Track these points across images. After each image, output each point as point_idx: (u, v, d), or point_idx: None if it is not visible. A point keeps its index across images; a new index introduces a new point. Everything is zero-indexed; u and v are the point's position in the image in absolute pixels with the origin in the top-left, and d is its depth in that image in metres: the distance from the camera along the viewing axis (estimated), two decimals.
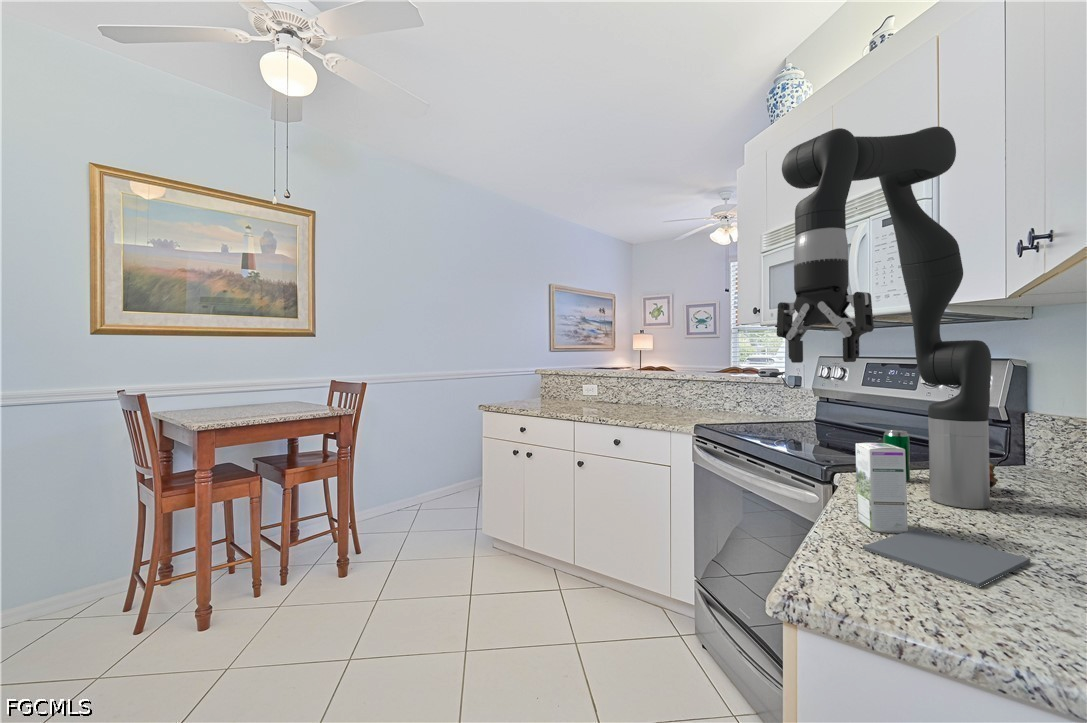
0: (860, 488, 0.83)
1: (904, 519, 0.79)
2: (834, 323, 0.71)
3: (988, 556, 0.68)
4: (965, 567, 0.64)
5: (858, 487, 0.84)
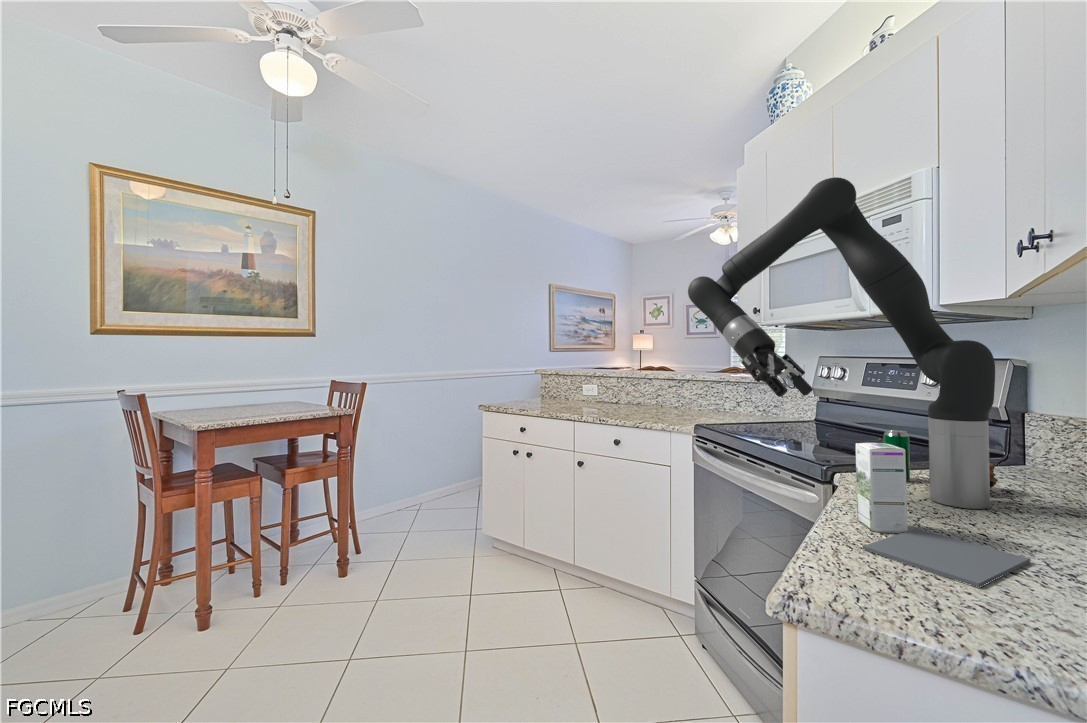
0: (860, 488, 0.83)
1: (904, 519, 0.79)
2: None
3: (988, 556, 0.68)
4: (965, 567, 0.64)
5: (858, 487, 0.84)
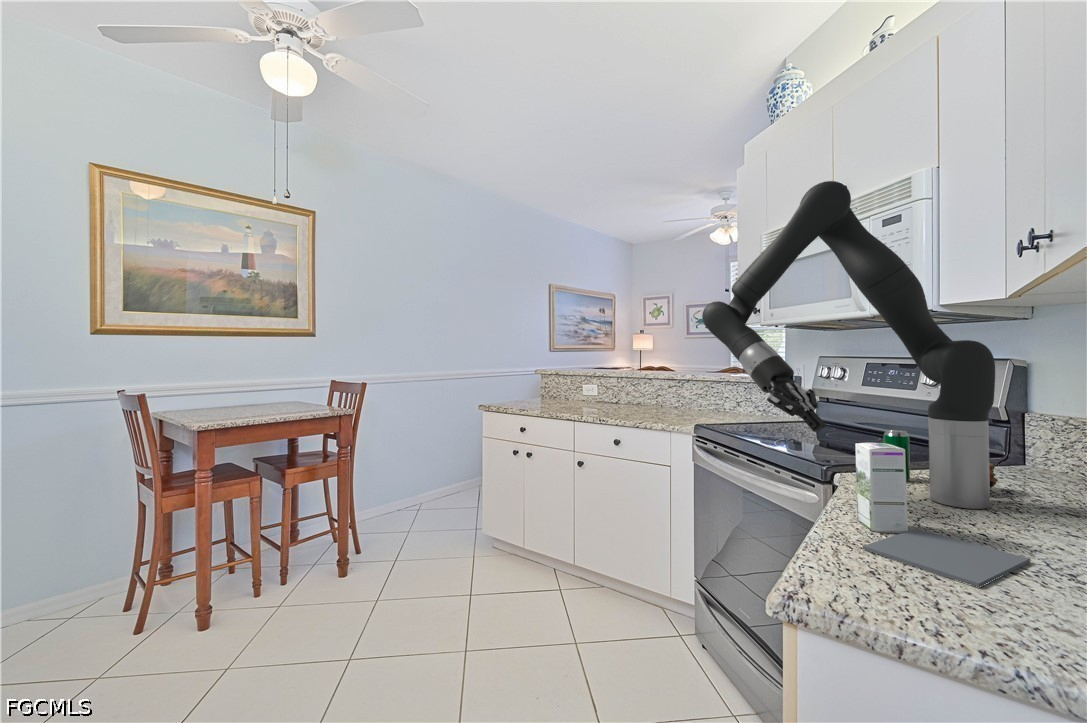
0: (860, 488, 0.83)
1: (904, 519, 0.79)
2: (790, 408, 0.96)
3: (988, 556, 0.68)
4: (965, 567, 0.64)
5: (858, 487, 0.84)
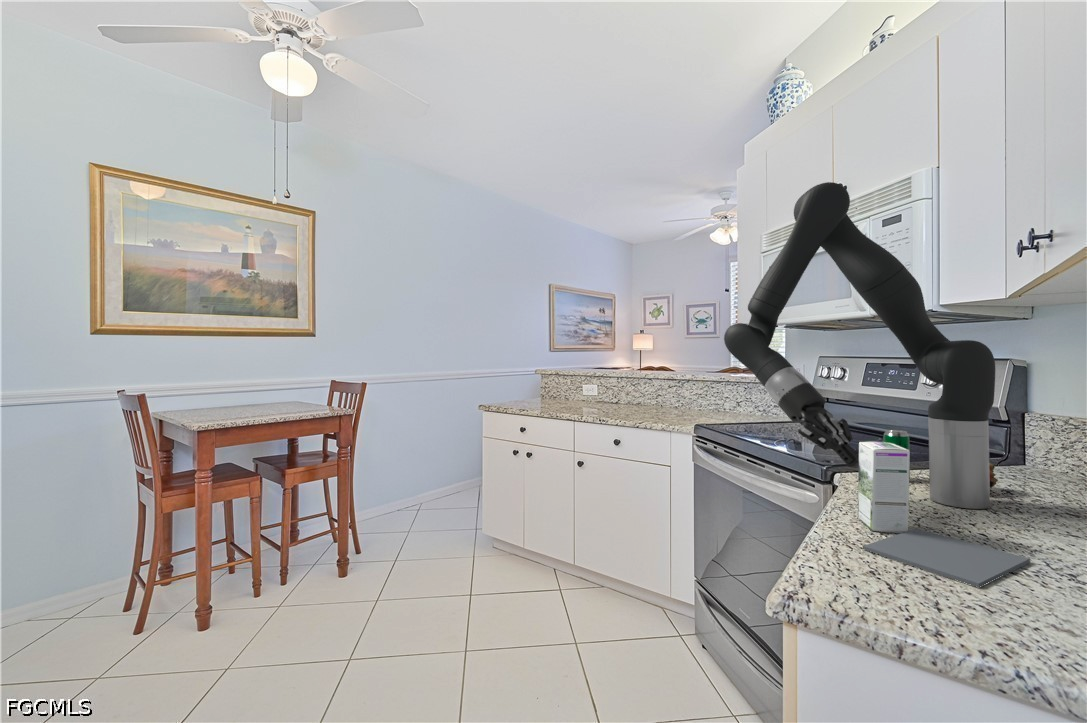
0: (862, 487, 0.83)
1: (905, 519, 0.79)
2: None
3: (988, 556, 0.68)
4: (965, 567, 0.64)
5: (860, 486, 0.84)
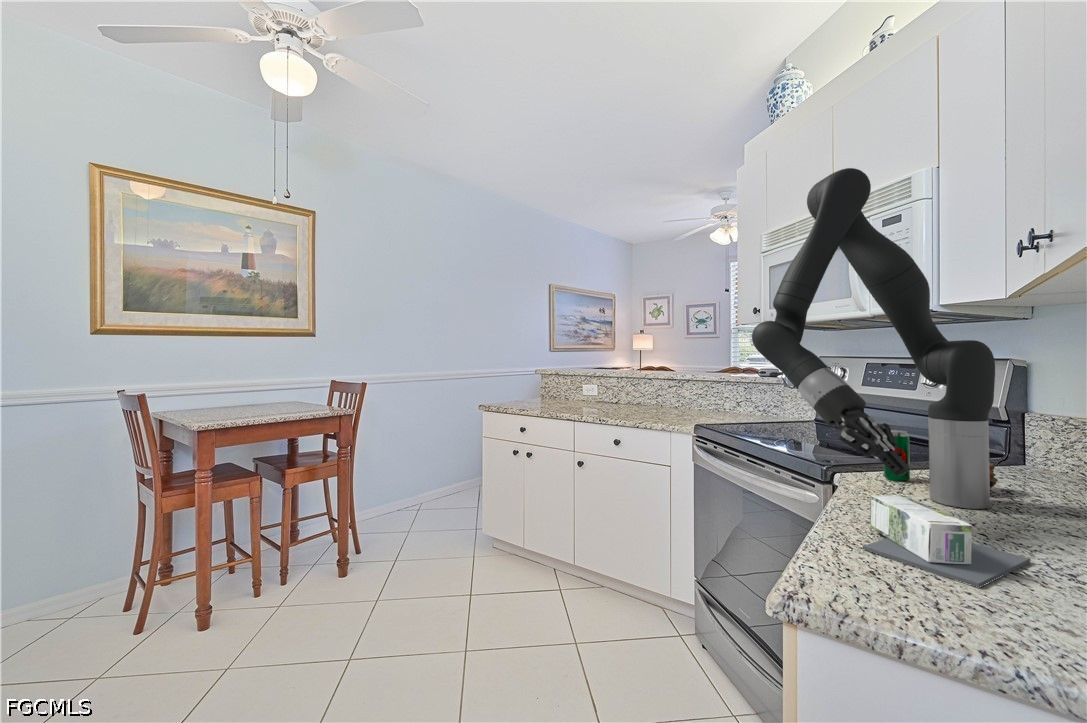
0: (893, 518, 0.73)
1: None
2: None
3: (988, 556, 0.68)
4: (965, 567, 0.64)
5: (893, 512, 0.73)
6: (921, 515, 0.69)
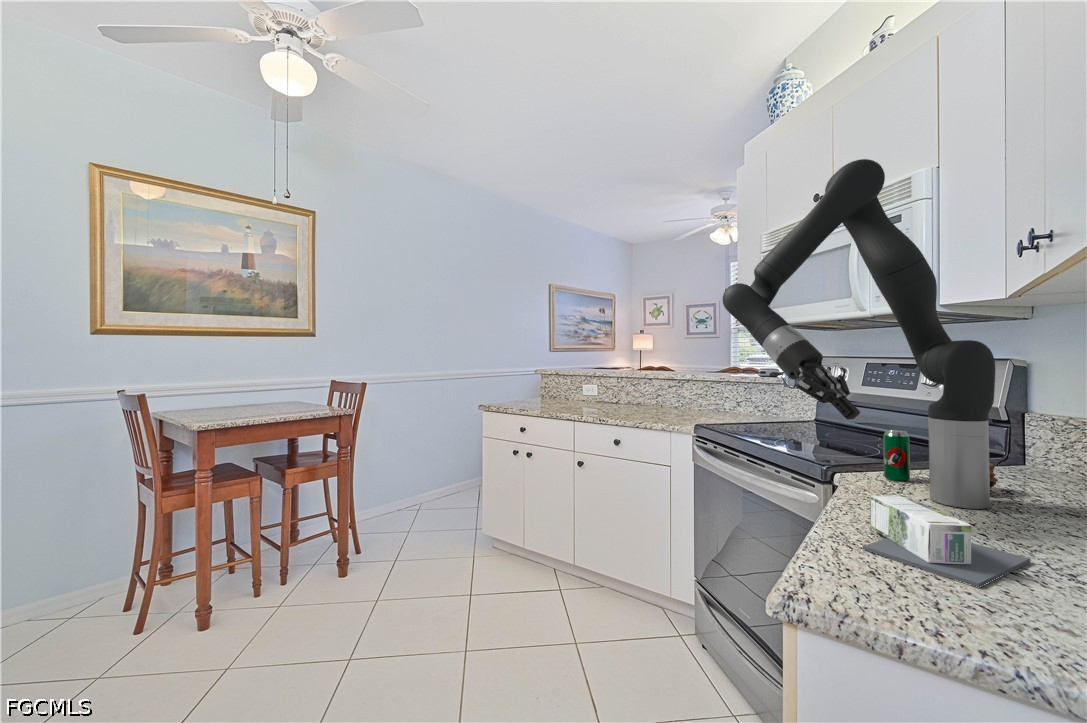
0: (893, 518, 0.73)
1: None
2: None
3: (988, 556, 0.68)
4: (965, 567, 0.64)
5: (893, 513, 0.73)
6: (920, 515, 0.69)
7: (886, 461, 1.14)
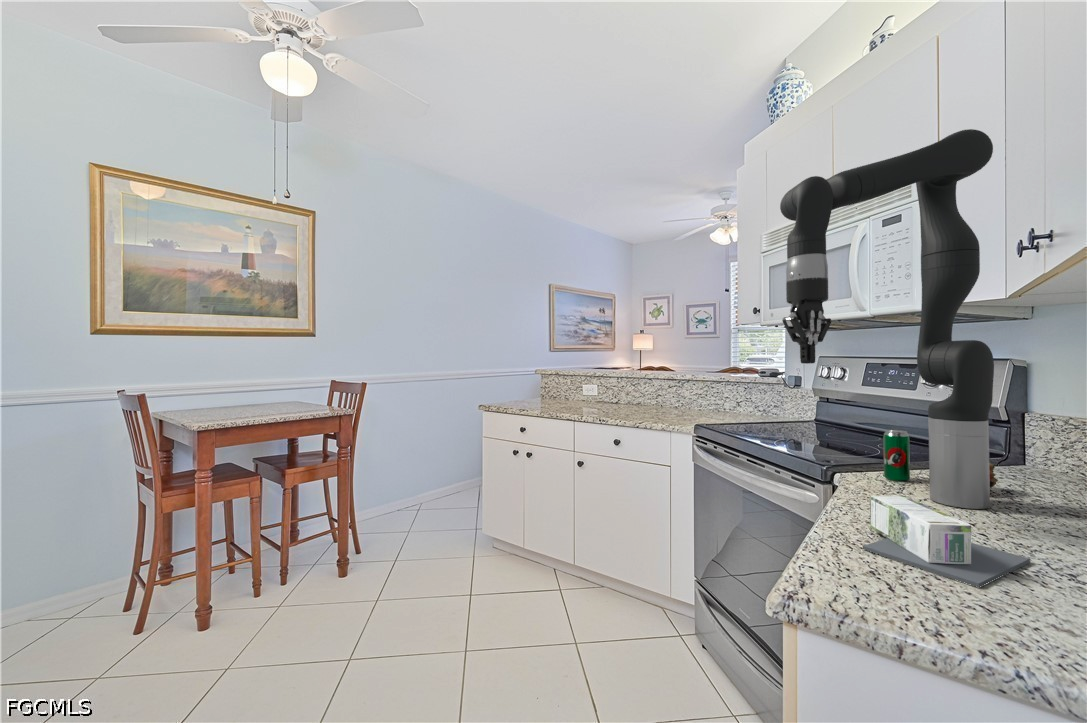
0: (893, 518, 0.73)
1: None
2: None
3: (988, 556, 0.68)
4: (965, 567, 0.64)
5: (893, 513, 0.73)
6: (920, 515, 0.69)
7: (886, 461, 1.14)
